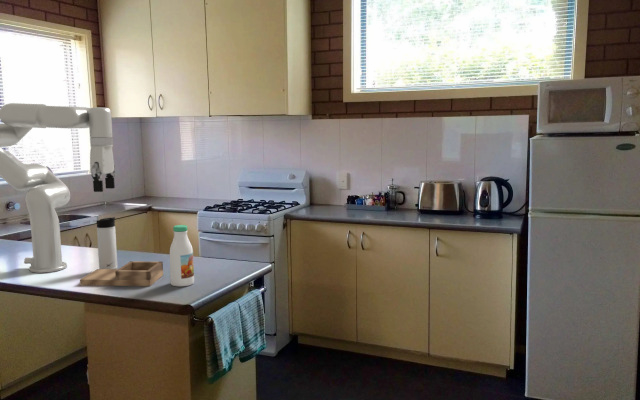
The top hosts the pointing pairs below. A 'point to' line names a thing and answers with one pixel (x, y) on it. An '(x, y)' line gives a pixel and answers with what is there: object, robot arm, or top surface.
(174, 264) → the milk bottle
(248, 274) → the top surface
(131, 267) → the open box
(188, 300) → the top surface
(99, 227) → the travel mug
